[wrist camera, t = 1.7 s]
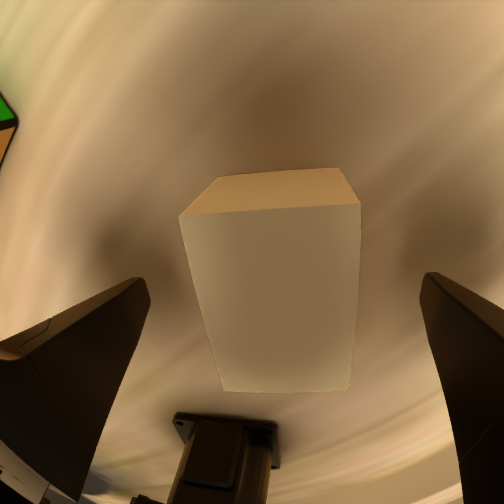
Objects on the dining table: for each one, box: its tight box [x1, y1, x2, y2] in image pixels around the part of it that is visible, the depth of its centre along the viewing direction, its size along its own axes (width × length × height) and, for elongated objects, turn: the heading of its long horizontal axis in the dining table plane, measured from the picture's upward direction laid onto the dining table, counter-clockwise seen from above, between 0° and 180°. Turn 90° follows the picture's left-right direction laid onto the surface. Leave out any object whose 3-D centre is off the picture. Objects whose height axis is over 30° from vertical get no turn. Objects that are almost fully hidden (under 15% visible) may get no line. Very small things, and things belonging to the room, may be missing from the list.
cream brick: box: [178, 168, 361, 393], centre depth 10 cm, size 6×4×4 cm, turn 7°
